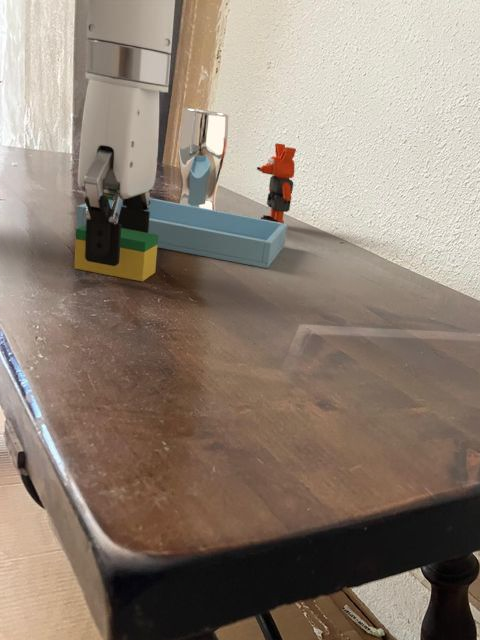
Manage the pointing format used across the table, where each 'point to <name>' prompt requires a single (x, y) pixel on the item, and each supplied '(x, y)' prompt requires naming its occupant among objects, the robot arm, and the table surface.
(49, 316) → the table surface
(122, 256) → the sponge
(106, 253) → the robot arm
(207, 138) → the beer glass
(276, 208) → the toy animal
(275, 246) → the tray
